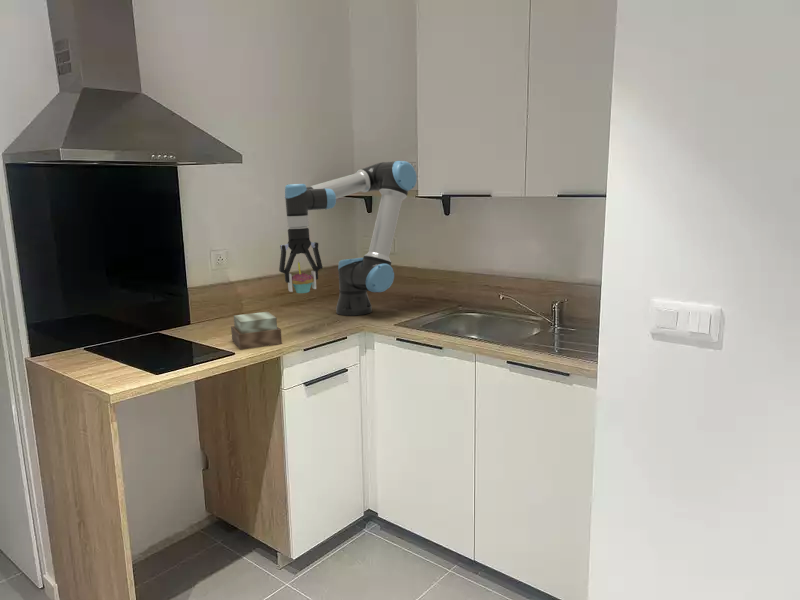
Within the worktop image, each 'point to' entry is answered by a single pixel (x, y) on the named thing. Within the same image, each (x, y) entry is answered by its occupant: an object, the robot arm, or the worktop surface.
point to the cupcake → (302, 281)
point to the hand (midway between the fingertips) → (302, 289)
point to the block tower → (255, 330)
